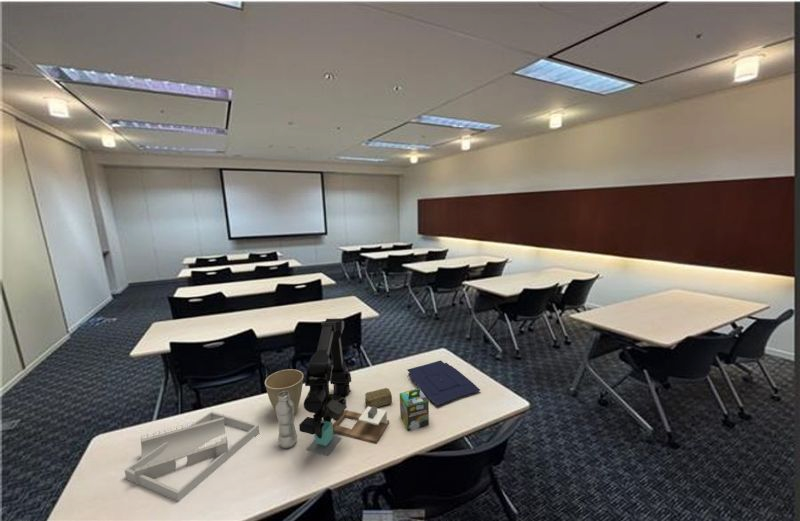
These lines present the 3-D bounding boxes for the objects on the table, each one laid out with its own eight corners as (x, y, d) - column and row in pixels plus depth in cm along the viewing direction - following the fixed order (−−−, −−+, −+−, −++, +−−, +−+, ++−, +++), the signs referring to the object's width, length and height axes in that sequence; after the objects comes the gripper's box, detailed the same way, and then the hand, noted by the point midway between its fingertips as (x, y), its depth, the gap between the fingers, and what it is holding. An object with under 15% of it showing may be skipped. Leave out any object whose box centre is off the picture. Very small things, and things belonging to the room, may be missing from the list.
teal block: (315, 442, 113) (314, 427, 112) (322, 434, 117) (321, 419, 116) (326, 446, 111) (325, 430, 110) (333, 437, 115) (332, 422, 114)
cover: (358, 431, 118) (358, 414, 116) (368, 418, 125) (367, 401, 124) (378, 436, 115) (377, 418, 114) (386, 422, 122) (386, 405, 121)
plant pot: (272, 430, 122) (268, 393, 119) (265, 410, 134) (261, 375, 132) (310, 416, 130) (307, 380, 127) (300, 398, 142) (297, 365, 140)
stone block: (393, 403, 136) (392, 393, 134) (367, 411, 132) (365, 401, 131) (389, 395, 141) (388, 385, 140) (364, 402, 138) (363, 392, 137)
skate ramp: (224, 428, 123) (223, 406, 121) (228, 464, 108) (227, 439, 106) (142, 452, 110) (140, 427, 108) (134, 496, 95) (130, 469, 92)
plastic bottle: (280, 453, 110) (275, 401, 107) (277, 441, 116) (272, 391, 113) (299, 447, 113) (294, 396, 110) (295, 435, 119) (291, 386, 116)
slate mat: (306, 450, 112) (306, 449, 111) (321, 433, 120) (321, 432, 120) (328, 457, 108) (328, 455, 108) (341, 439, 117) (341, 437, 117)
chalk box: (420, 412, 131) (420, 380, 128) (429, 427, 122) (429, 392, 120) (399, 418, 128) (398, 384, 125) (407, 433, 119) (406, 397, 117)
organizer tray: (126, 480, 101) (124, 469, 100) (212, 420, 129) (211, 411, 128) (179, 504, 92) (177, 493, 91) (259, 434, 120) (258, 424, 119)
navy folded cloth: (443, 364, 169) (443, 357, 169) (480, 395, 143) (481, 388, 142) (403, 375, 159) (403, 368, 158) (435, 411, 132) (435, 403, 132)
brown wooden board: (329, 432, 120) (328, 428, 120) (345, 413, 131) (345, 409, 131) (376, 445, 113) (376, 441, 113) (389, 423, 124) (389, 420, 124)
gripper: (325, 415, 99) (328, 458, 102) (354, 384, 117) (356, 422, 119) (296, 408, 103) (300, 450, 106) (328, 379, 120) (330, 415, 123)
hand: (323, 433), depth 113 cm, fingers closed on teal block, 4 cm apart
